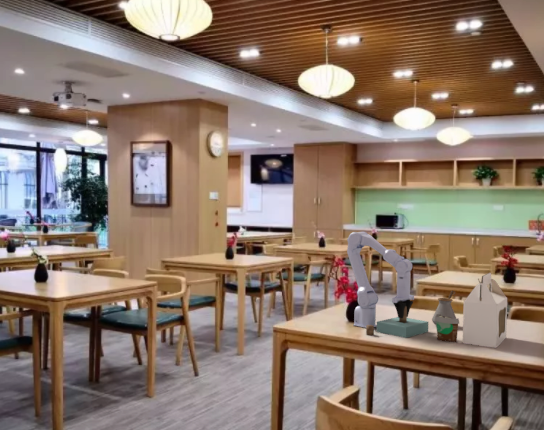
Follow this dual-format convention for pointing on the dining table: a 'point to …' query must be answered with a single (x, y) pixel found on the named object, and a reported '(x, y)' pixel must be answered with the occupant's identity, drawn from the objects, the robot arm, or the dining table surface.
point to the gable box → (485, 314)
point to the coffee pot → (444, 308)
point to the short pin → (370, 330)
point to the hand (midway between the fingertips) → (402, 317)
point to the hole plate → (402, 327)
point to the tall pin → (404, 316)
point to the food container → (446, 328)
